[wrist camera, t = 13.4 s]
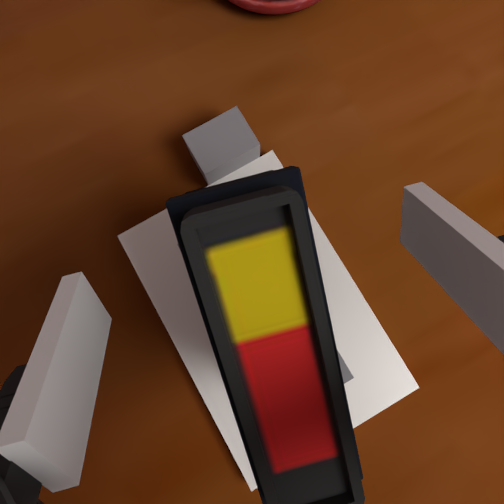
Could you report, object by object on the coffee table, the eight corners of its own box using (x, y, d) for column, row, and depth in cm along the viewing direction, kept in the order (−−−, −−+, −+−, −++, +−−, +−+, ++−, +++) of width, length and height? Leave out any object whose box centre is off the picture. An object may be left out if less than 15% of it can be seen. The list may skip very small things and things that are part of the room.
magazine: (250, 155, 23) (310, 168, 9) (294, 333, 27) (385, 547, 12) (193, 170, 23) (157, 209, 8) (245, 346, 27) (280, 578, 12)
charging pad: (103, 202, 25) (83, 188, 22) (251, 122, 26) (250, 98, 23) (251, 482, 23) (250, 510, 20) (412, 383, 23) (435, 395, 20)
